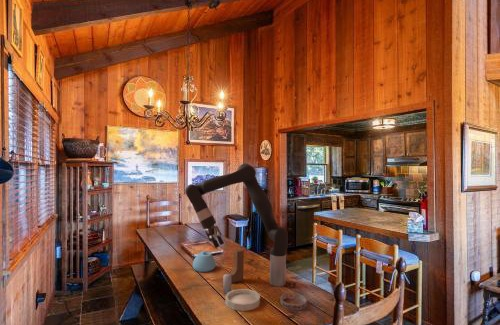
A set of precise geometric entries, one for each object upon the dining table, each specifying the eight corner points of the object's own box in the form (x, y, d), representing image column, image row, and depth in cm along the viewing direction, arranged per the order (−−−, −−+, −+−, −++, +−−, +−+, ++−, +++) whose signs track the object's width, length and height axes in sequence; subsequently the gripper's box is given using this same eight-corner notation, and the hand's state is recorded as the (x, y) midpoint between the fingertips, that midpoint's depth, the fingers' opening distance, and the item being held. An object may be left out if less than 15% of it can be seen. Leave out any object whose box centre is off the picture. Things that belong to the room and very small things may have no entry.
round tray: (241, 291, 157) (241, 286, 157) (266, 301, 146) (266, 295, 146) (218, 302, 143) (218, 296, 143) (244, 314, 133) (244, 308, 133)
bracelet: (274, 305, 142) (275, 299, 142) (287, 295, 154) (287, 290, 154) (300, 314, 135) (300, 307, 135) (311, 302, 146) (311, 296, 146)
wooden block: (229, 283, 167) (230, 252, 167) (226, 280, 171) (227, 250, 171) (243, 280, 171) (244, 250, 171) (240, 278, 175) (240, 248, 175)
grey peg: (226, 289, 159) (227, 273, 159) (232, 291, 156) (233, 275, 156) (221, 292, 156) (221, 275, 156) (227, 294, 153) (227, 277, 153)
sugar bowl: (211, 273, 182) (211, 255, 182) (188, 271, 185) (189, 253, 185) (218, 265, 196) (218, 249, 196) (197, 264, 199) (198, 247, 199)
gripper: (207, 216, 146) (222, 244, 143) (216, 213, 160) (229, 240, 157) (195, 223, 147) (209, 251, 144) (205, 220, 161) (218, 246, 158)
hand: (220, 245), depth 151 cm, fingers open, 8 cm apart
